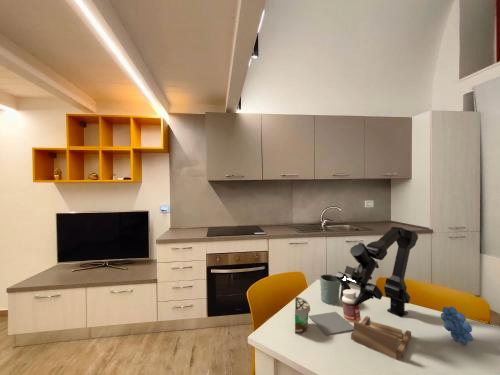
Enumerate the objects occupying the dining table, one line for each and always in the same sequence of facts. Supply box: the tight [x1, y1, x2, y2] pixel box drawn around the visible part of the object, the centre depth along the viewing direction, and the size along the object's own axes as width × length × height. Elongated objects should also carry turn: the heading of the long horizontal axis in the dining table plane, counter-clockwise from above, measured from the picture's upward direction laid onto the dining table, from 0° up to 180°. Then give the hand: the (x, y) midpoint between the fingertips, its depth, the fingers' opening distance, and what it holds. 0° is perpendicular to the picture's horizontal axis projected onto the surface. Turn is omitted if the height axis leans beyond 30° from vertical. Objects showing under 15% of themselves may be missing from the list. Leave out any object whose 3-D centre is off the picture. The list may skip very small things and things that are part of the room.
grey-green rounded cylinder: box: [319, 273, 341, 306], centre depth 122 cm, size 10×10×12 cm
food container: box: [294, 296, 311, 335], centre depth 99 cm, size 12×6×10 cm, turn 168°
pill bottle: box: [341, 289, 362, 324], centre depth 95 cm, size 6×6×11 cm
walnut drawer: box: [350, 315, 412, 361], centre depth 92 cm, size 18×16×7 cm
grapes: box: [440, 306, 474, 345], centre depth 91 cm, size 12×7×12 cm, turn 9°
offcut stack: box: [368, 320, 404, 344], centre depth 95 cm, size 6×12×2 cm, turn 53°
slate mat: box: [308, 311, 354, 336], centre depth 102 cm, size 14×14×1 cm
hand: (347, 302), depth 94 cm, fingers closed on pill bottle, 6 cm apart
